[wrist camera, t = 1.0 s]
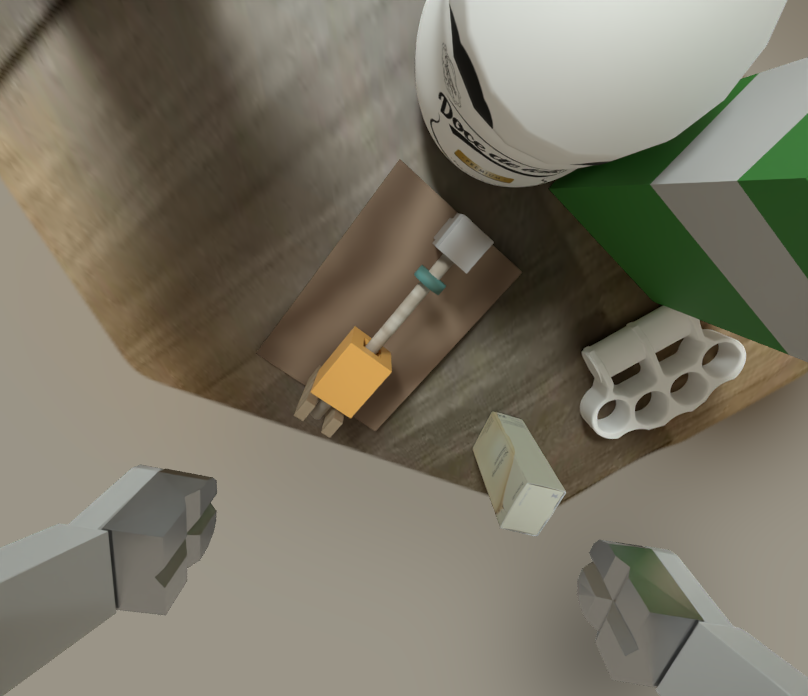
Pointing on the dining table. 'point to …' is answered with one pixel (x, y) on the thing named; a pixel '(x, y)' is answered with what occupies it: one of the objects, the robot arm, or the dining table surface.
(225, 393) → the dining table surface
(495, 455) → the skincare box
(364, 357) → the marker sleeve
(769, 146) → the hardback book
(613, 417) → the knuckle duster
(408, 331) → the board
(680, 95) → the milk container
